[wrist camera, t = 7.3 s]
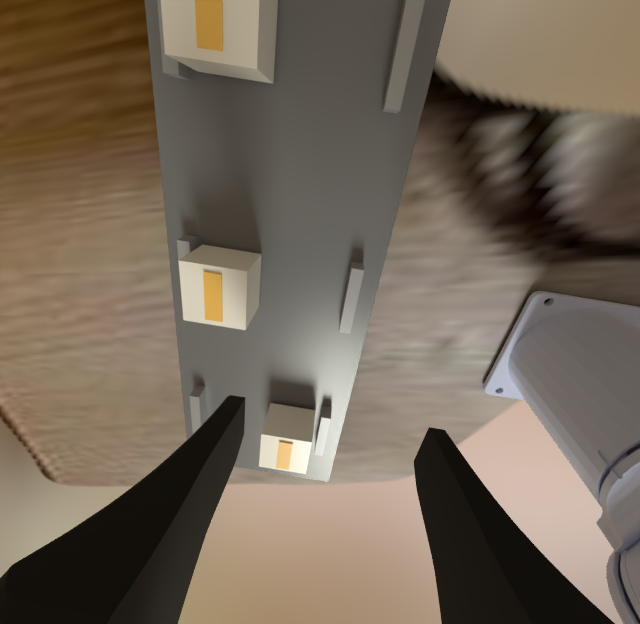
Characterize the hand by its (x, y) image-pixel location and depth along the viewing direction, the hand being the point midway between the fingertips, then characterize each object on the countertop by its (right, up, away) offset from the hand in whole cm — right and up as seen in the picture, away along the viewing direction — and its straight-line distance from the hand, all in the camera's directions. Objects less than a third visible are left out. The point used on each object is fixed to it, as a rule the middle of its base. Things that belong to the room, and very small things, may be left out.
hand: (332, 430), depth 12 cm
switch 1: (-4, +15, -1) cm, 16 cm away
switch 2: (-3, -3, +9) cm, 10 cm away
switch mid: (-5, +6, +4) cm, 9 cm away
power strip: (-3, +8, +7) cm, 11 cm away
